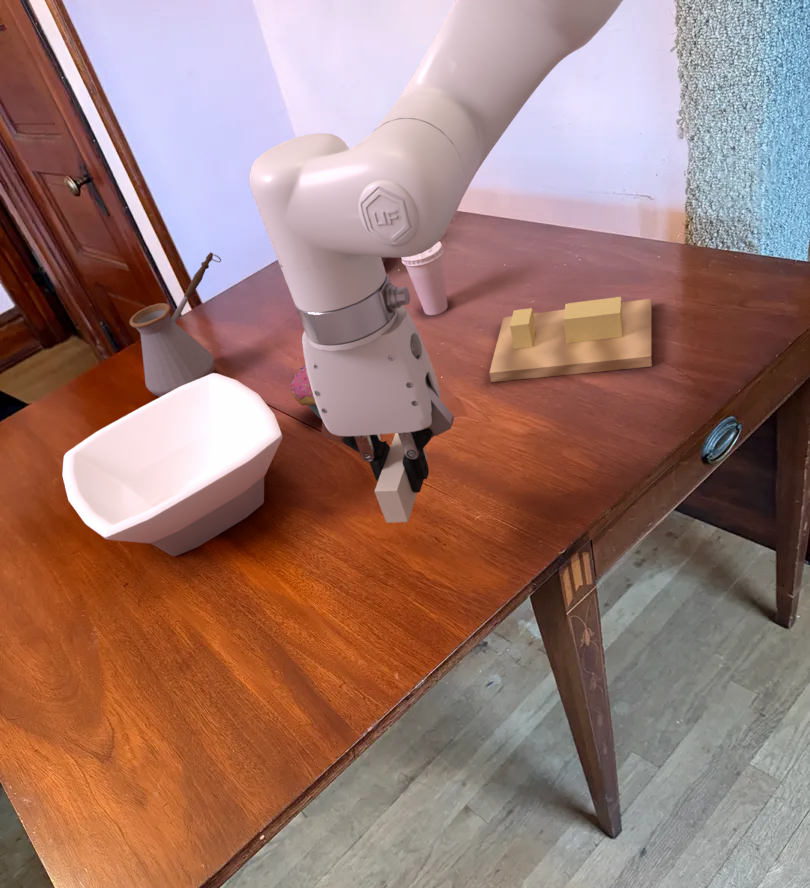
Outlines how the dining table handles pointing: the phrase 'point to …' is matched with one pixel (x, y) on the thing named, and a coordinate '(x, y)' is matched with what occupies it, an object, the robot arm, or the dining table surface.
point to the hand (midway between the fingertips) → (405, 482)
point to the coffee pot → (171, 344)
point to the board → (574, 347)
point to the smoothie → (428, 279)
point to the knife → (395, 486)
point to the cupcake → (304, 390)
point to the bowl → (176, 466)
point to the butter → (593, 320)
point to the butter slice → (523, 328)
